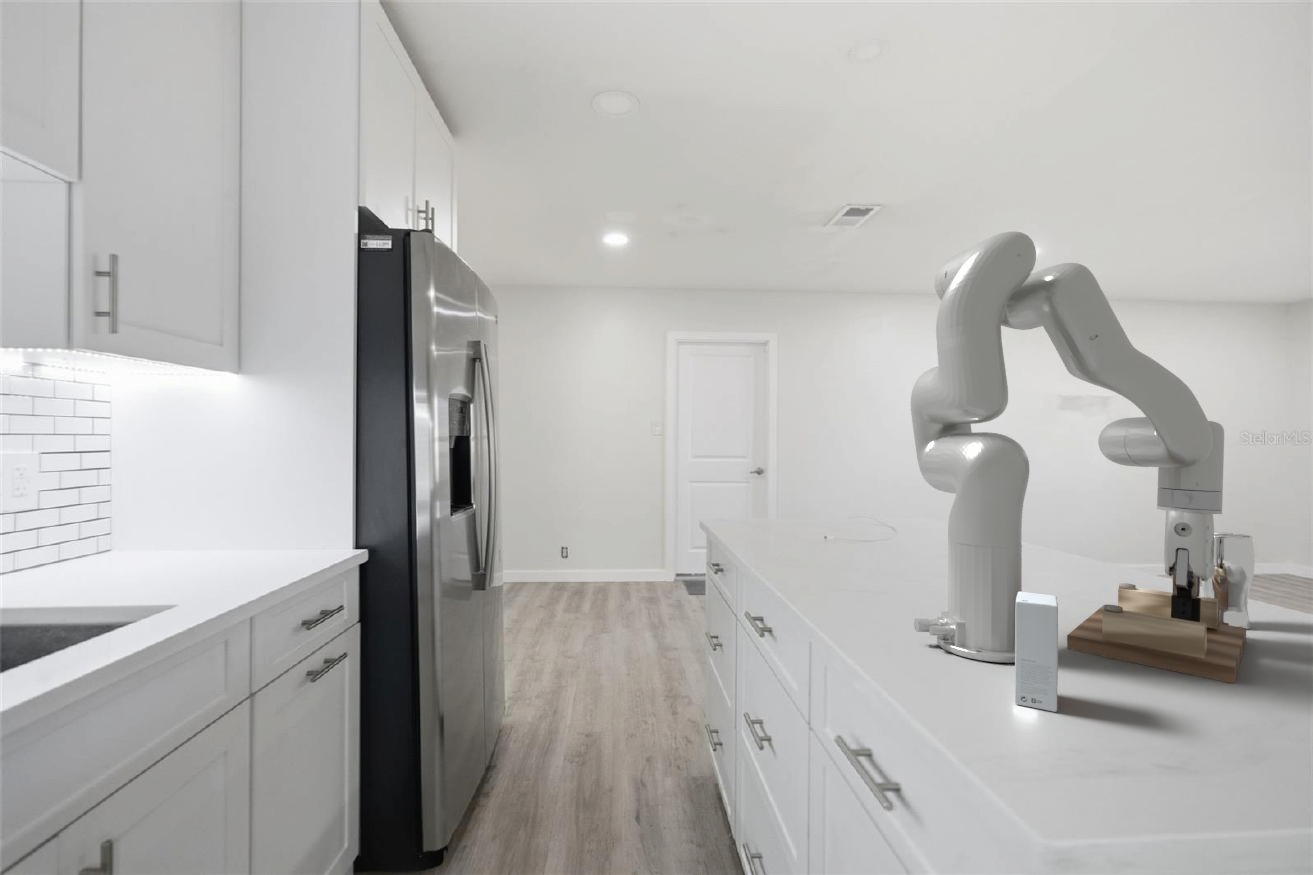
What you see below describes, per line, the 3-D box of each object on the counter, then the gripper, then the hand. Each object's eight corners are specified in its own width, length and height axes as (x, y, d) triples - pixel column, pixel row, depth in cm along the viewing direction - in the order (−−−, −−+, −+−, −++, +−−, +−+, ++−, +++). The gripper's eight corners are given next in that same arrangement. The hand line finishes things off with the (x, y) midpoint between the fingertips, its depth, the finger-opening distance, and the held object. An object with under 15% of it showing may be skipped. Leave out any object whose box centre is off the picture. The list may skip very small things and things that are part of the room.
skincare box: (1058, 713, 69) (1058, 606, 69) (1014, 705, 72) (1014, 601, 72) (1057, 695, 74) (1057, 594, 75) (1016, 687, 77) (1016, 590, 77)
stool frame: (1234, 683, 78) (1234, 630, 78) (1067, 648, 91) (1067, 603, 91) (1246, 641, 95) (1245, 597, 95) (1103, 617, 108) (1103, 578, 108)
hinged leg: (1117, 613, 102) (1117, 585, 102) (1120, 609, 104) (1120, 582, 104) (1216, 628, 93) (1216, 598, 93) (1217, 624, 95) (1217, 594, 95)
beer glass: (1265, 632, 99) (1265, 538, 100) (1215, 629, 101) (1215, 536, 101) (1235, 619, 106) (1235, 532, 106) (1188, 617, 108) (1188, 530, 108)
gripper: (1215, 506, 86) (1211, 638, 86) (1227, 502, 97) (1224, 620, 96) (1148, 501, 92) (1144, 625, 92) (1166, 498, 102) (1162, 610, 102)
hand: (1185, 622), depth 94 cm, fingers closed
